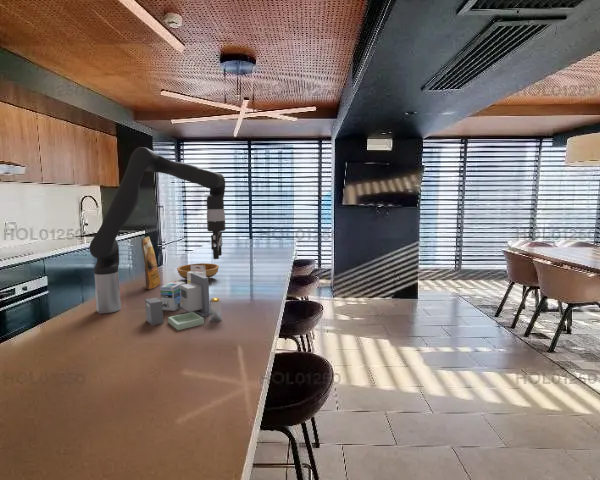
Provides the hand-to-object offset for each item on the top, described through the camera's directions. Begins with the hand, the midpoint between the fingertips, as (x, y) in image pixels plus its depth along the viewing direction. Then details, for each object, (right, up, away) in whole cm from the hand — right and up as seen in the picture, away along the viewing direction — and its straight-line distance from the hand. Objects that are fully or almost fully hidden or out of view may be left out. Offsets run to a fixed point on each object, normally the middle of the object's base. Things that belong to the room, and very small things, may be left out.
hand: (217, 257), depth 153 cm
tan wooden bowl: (-25, -17, +60) cm, 68 cm away
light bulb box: (-22, -23, +9) cm, 33 cm away
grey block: (-23, -26, -10) cm, 36 cm away
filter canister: (+1, -25, -8) cm, 26 cm away
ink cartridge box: (-18, -21, +31) cm, 41 cm away
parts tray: (-10, -26, -12) cm, 30 cm away
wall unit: (-10, -24, +3) cm, 26 cm away
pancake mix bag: (-48, -19, +47) cm, 70 cm away
